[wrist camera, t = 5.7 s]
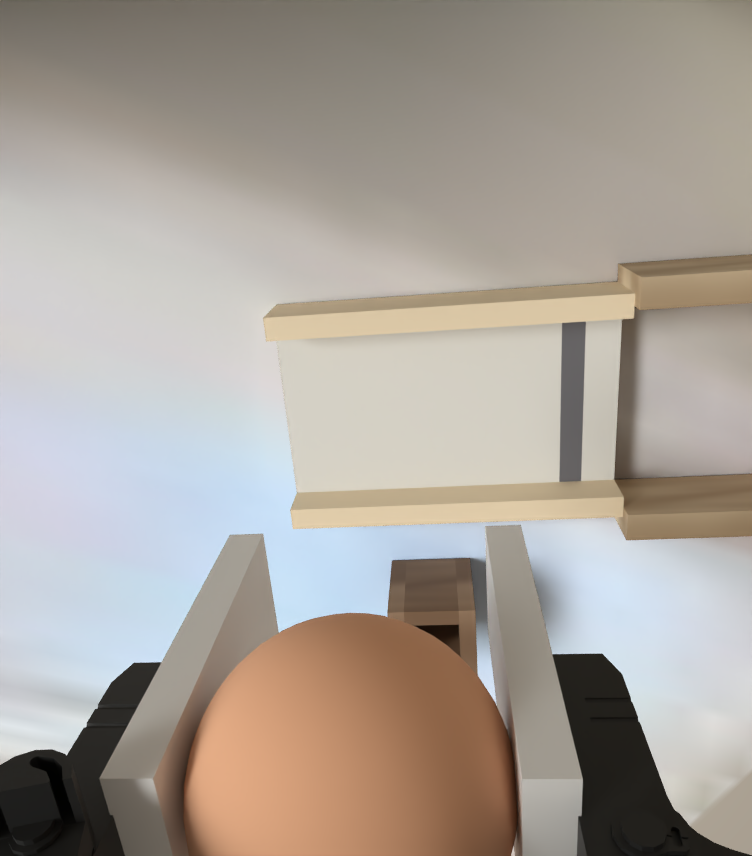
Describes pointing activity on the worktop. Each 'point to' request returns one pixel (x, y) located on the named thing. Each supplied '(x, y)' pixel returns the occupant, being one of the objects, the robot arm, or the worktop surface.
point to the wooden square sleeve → (437, 601)
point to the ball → (351, 750)
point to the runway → (453, 405)
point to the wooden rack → (698, 495)
